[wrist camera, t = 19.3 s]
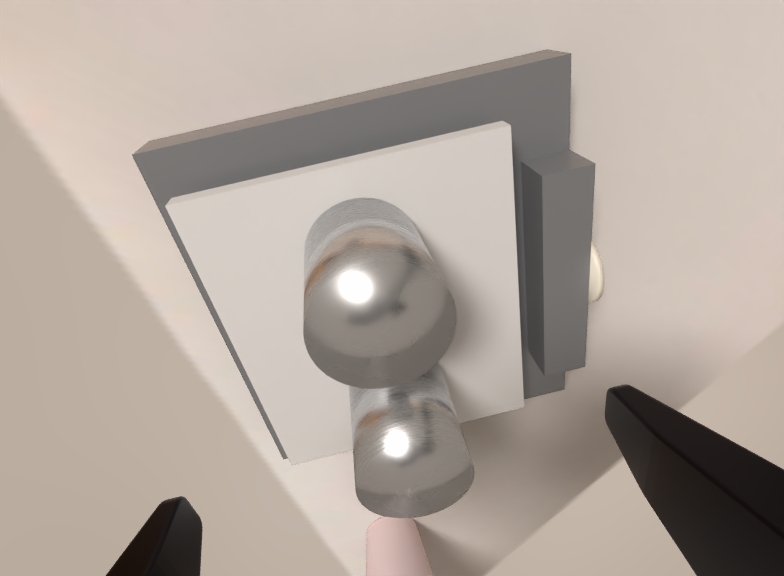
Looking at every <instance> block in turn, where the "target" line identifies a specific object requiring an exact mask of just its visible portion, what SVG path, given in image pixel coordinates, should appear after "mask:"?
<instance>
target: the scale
mask: <svg viewBox="0 0 784 576" xmlns="http://www.w3.org/2000/svg"><path fill="white" fill-rule="evenodd" d="M570 87H571V53H565V52H559V51H553V50H543V51H539V52H535V53H530V54H526V55H522V56H517V57H513V58H509V59H504V60H500V61H496V62H491V63H487V64H483V65H478V66H474V67H469V68H465V69H461V70H456V71H452V72H448V73H443V74H439V75H435V76H430V77H426V78H422V79H417V80H413V81H409V82H404V83H400V84H396V85H391V86H387V87H383V88H378V89H374V90H370V91H365V92H361V93H357V94H352V95H348V96H344V97H339V98H335V99H331V100H326V101H322V102H318V103H313V104H309V105H304V106H300V107H296V108H291V109H287V110H283V111H278V112H274V113H270V114H265V115H261V116H257V117H252V118H248V119H244V120H239V121H235V122H231V123H226V124H222V125H218V126H213V127H209V128H205V129H200V130H196V131H192V132H187V133H183V134H179V135H174V136H170V137H166V138H161V139H157V140H153V141H149V142H148V143H146V144H145V145H144V146H143V147H141V148H140V149H139V150H137V151H136V152H135V153H134V154H132V156H133V158H134V160H135V162H136V164H137V166H138V168H139V170H140V172H141V174H142V176H143V178H144V180H145V182H146V184H147V186H148V188H149V190H150V192H151V194H152V196H153V198H154V200H155V202H156V204H157V206H158V208H159V210H160V212H161V214H162V216H163V218H164V220H165V222H166V224H167V226H168V228H169V230H170V232H171V234H172V236H173V238H174V240H175V242H176V244H177V246H178V248H179V250H180V252H181V254H182V256H183V258H184V261H185V263H186V265H187V267H188V269H189V271H190V273H191V275H192V277H193V279H194V281H195V283H196V285H197V287H198V289H199V291H200V293H201V295H202V297H203V299H204V301H205V303H206V305H207V307H208V309H209V311H210V313H211V315H212V317H213V319H214V321H215V323H216V325H217V327H218V329H219V331H220V333H221V335H222V337H223V339H224V341H225V343H226V345H227V347H228V349H229V351H230V353H231V355H232V357H233V359H234V361H235V363H236V365H237V367H238V369H239V371H240V373H241V375H242V377H243V379H244V381H245V383H246V385H247V387H248V389H249V391H250V393H251V395H252V397H253V399H254V401H255V403H256V405H257V407H258V409H259V411H260V413H261V415H262V417H263V419H264V421H265V423H266V425H267V427H268V429H269V431H270V433H271V435H272V437H273V439H274V441H275V443H276V445H277V447H278V449H279V451H280V453H281V455H282V457H283V459H287V458H288V459H289V461H290V463H291V465H296V464H300V463H304V462H308V461H312V460H316V459H320V458H324V457H328V456H332V455H336V454H340V453H344V452H348V451H352V450H353V442H352V427H351V412H350V398H349V385H345V384H343V383H340V382H338V381H336V380H334V379H332V378H331V377H329V376H327V375H326V374H325V373H324V372H322V371H321V370H320V369H319V368H318V367H317V366H316V365H315V363H314V362H313V361H312V359H311V358H310V356H309V354H308V352H307V349H306V346H305V343H304V336H303V313H304V247H305V241H306V238H307V235H308V233H309V231H310V229H311V227H312V225H313V224H314V222H315V221H316V220H317V219H318V218H319V216H320V215H321V214H323V213H324V212H325V211H326V210H328V209H329V208H331V207H332V206H334V205H336V204H338V203H340V202H343V201H346V200H349V199H354V198H375V199H380V200H384V201H387V202H389V203H391V204H393V205H395V206H397V207H398V208H400V209H401V210H402V211H403V212H404V213H406V214H407V215H408V217H409V218H410V219H411V220H412V222H413V223H414V225H415V227H416V229H417V231H418V232H419V234H420V236H421V238H422V240H423V242H424V244H425V246H426V248H427V249H428V251H429V253H430V255H431V257H432V259H433V261H434V263H435V265H436V266H437V268H438V270H439V272H440V274H441V276H442V278H443V280H444V281H445V283H446V285H447V287H448V289H449V291H450V293H451V295H452V297H453V299H454V302H455V306H456V310H457V326H456V331H455V335H454V338H453V340H452V343H451V345H450V346H449V348H448V350H447V351H446V353H445V354H444V356H443V357H442V358H441V359H440V360H439V361H438V364H439V365H440V367H441V369H442V371H443V374H444V377H445V380H446V383H447V386H448V389H449V392H450V396H451V399H452V402H453V405H454V408H455V411H456V414H457V417H458V420H459V423H464V422H468V421H472V420H476V419H480V418H484V417H488V416H492V415H496V414H500V413H504V412H508V411H512V410H516V409H520V408H524V399H527V398H531V397H535V396H539V395H543V394H547V393H551V392H555V391H559V390H563V389H564V385H565V371H569V370H573V369H577V368H581V367H585V355H586V336H587V316H588V303H591V302H595V301H597V300H599V298H600V297H601V295H602V293H603V288H604V273H603V267H602V263H601V259H600V256H599V253H598V251H597V249H596V247H595V245H594V243H593V242H592V240H591V239H592V220H593V200H594V181H595V163H593V162H591V161H589V160H587V159H586V158H584V157H582V156H580V155H578V154H576V153H574V152H573V151H571V150H569V137H570Z"/></svg>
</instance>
